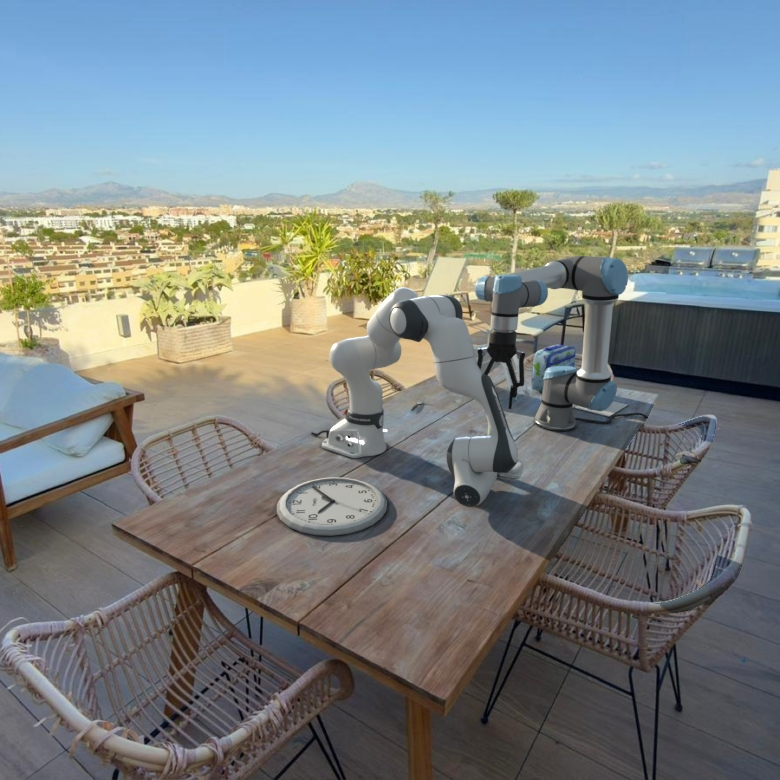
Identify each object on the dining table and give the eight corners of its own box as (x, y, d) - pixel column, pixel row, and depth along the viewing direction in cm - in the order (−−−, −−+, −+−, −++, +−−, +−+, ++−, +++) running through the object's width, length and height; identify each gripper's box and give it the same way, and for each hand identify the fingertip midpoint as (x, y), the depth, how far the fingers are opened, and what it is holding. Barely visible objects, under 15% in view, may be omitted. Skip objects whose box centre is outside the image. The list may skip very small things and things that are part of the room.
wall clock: (392, 527, 129) (268, 531, 127) (391, 533, 130) (269, 537, 127) (383, 473, 158) (282, 475, 155) (383, 478, 158) (282, 480, 156)
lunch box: (547, 397, 237) (552, 352, 231) (526, 391, 245) (531, 348, 238) (574, 386, 255) (580, 344, 249) (554, 381, 262) (559, 340, 256)
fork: (408, 411, 216) (408, 407, 215) (419, 400, 230) (419, 396, 229) (414, 412, 215) (414, 407, 214) (425, 401, 229) (425, 396, 229)
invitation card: (608, 416, 214) (573, 407, 224) (608, 416, 214) (573, 408, 224) (628, 404, 229) (594, 396, 238) (628, 405, 229) (594, 397, 238)
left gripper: (519, 469, 145) (528, 451, 157) (449, 455, 153) (463, 439, 165) (517, 489, 147) (526, 470, 159) (448, 475, 155) (461, 457, 167)
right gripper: (540, 330, 150) (531, 406, 157) (470, 325, 156) (465, 398, 162) (539, 335, 143) (530, 414, 150) (466, 329, 149) (461, 405, 155)
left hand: (493, 454), depth 162 cm, fingers closed on jar, 4 cm apart
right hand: (496, 405), depth 156 cm, fingers open, 7 cm apart
